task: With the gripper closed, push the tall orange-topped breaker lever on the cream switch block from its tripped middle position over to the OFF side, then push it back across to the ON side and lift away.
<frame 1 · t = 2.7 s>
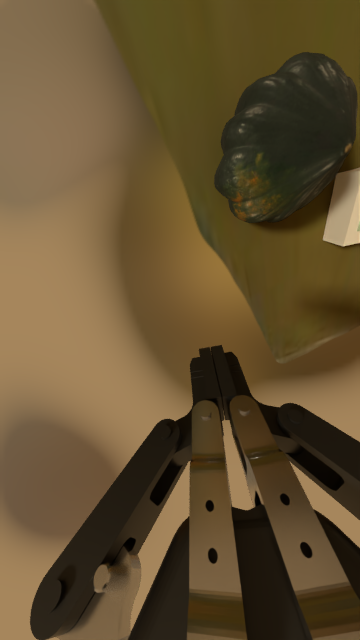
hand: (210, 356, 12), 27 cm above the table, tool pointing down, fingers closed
squash: (258, 162, 28), on the table
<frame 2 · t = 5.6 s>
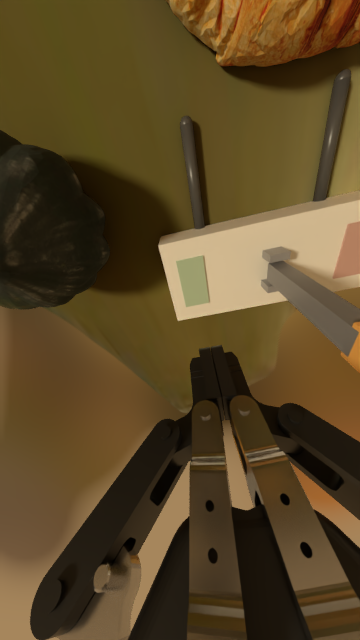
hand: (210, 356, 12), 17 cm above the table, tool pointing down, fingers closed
breaker lever: (315, 302, 15), point 13 cm above the table, hinge at 0.0°
squash: (58, 223, 23), on the table
switch block: (254, 255, 25), on the table
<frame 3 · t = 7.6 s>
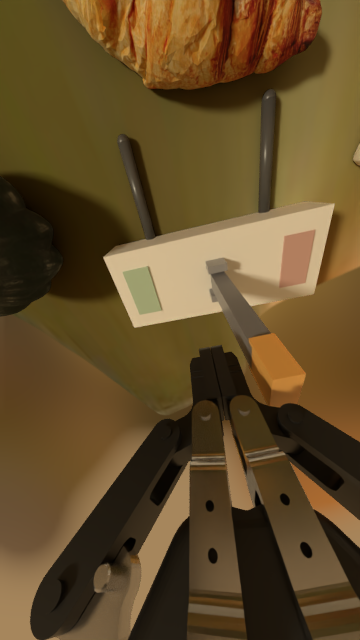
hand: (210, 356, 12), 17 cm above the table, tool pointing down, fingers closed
croissant: (176, 4, 15), on the table
breaker lever: (238, 314, 15), point 13 cm above the table, hinge at 2.8°, touching gripper
squash: (15, 234, 24), on the table
switch block: (209, 263, 26), on the table
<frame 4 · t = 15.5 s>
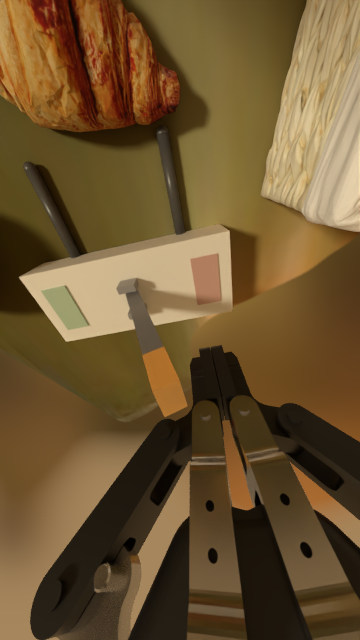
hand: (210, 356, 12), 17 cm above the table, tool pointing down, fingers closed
croissant: (60, 55, 16), on the table
breaker lever: (146, 331, 16), point 13 cm above the table, hinge at 18.1°, touching gripper
switch block: (140, 279, 27), on the table
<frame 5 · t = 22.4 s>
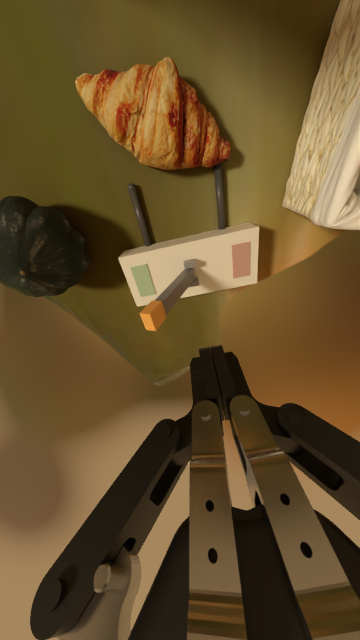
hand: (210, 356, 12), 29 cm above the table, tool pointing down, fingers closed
croissant: (159, 125, 27), on the table
breaker lever: (172, 293, 28), point 12 cm above the table, hinge at -25.6°
storage basket: (346, 125, 27), on the table
squash: (56, 242, 35), on the table
switch block: (189, 262, 38), on the table
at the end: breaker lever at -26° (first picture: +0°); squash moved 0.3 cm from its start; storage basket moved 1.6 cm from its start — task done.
